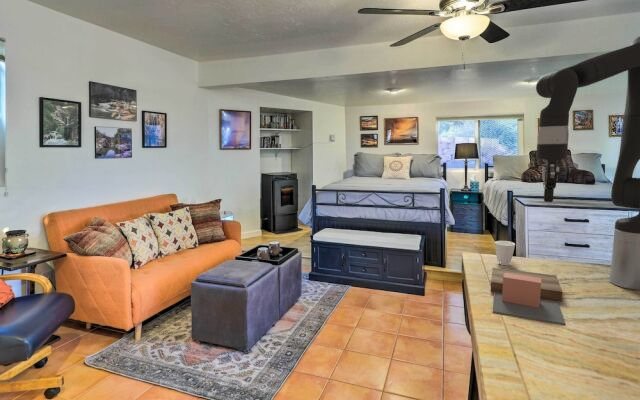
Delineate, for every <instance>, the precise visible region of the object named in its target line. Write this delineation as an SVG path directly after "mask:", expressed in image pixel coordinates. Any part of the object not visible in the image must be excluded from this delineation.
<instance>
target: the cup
mask: <svg viewBox="0 0 640 400" xmlns="http://www.w3.org/2000/svg"><path fill="white" fill-rule="evenodd" d="M494 246H495V256H496V260H497V262H499V264H501V265H500V266H503V265H506V266H505V267H507V265H509V266H510V265H511V262H512V260H513V255H514V251H515V246H516V243H515V242H513V241H509V240H496V241H494ZM500 262H501V263H500ZM499 264H498V265H499Z"/></svg>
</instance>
